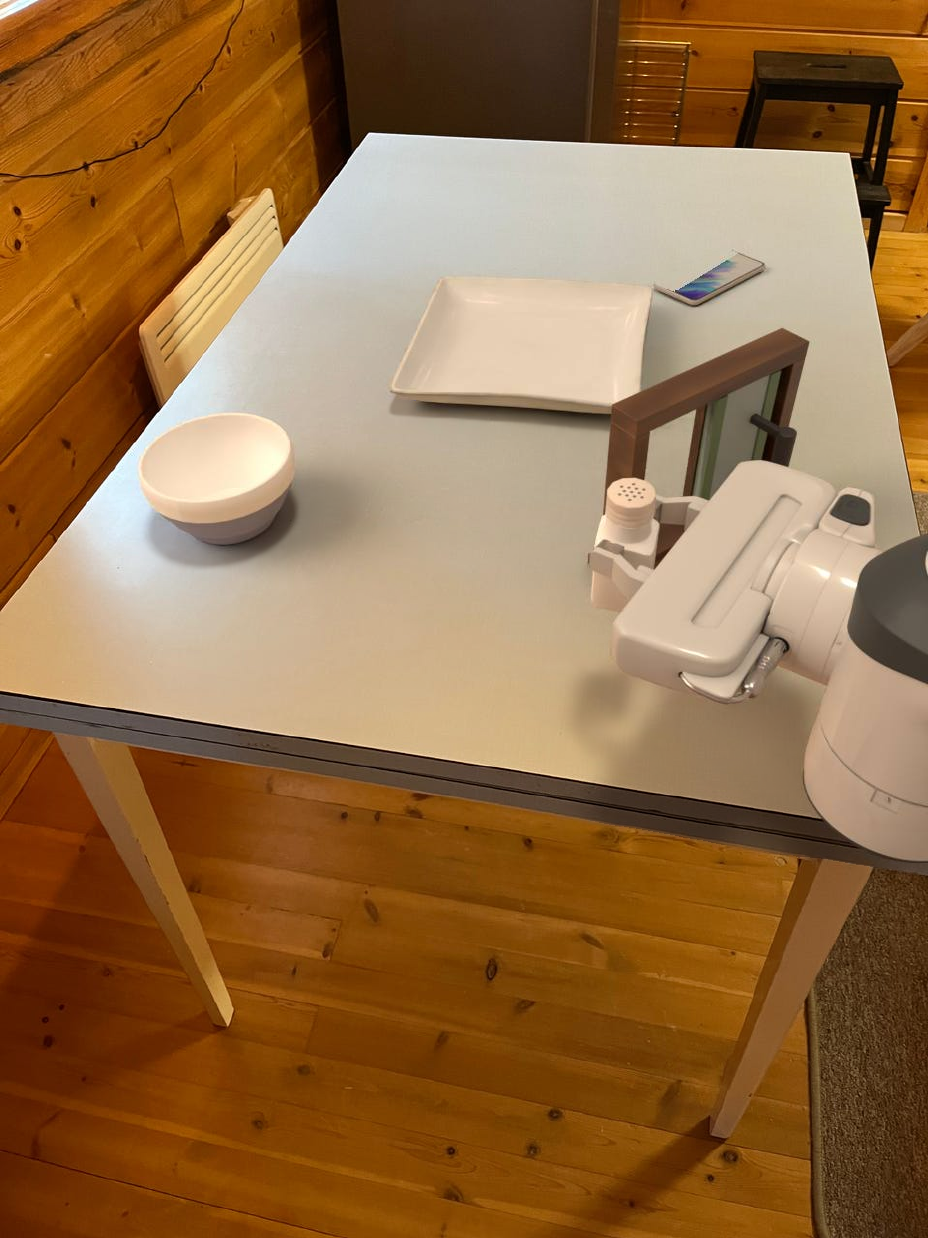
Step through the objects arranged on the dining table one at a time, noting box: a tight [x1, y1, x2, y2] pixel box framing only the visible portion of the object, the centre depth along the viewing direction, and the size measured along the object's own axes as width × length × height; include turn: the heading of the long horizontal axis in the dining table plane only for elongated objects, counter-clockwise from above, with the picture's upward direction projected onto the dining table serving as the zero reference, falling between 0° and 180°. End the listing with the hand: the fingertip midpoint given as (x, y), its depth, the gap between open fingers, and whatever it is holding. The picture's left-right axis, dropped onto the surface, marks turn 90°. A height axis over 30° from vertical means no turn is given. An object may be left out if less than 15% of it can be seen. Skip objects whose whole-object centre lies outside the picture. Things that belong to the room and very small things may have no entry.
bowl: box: [137, 412, 296, 546], centre depth 89 cm, size 14×14×8 cm
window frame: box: [587, 327, 810, 570], centre depth 78 cm, size 14×19×18 cm
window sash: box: [693, 370, 798, 501], centre depth 80 cm, size 5×7×14 cm
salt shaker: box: [590, 478, 660, 613], centre depth 64 cm, size 4×4×10 cm
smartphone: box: [653, 249, 766, 306], centre depth 122 cm, size 7×1×15 cm
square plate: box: [388, 276, 653, 415], centre depth 109 cm, size 27×27×4 cm
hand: (616, 528), depth 63 cm, fingers closed on salt shaker, 4 cm apart
